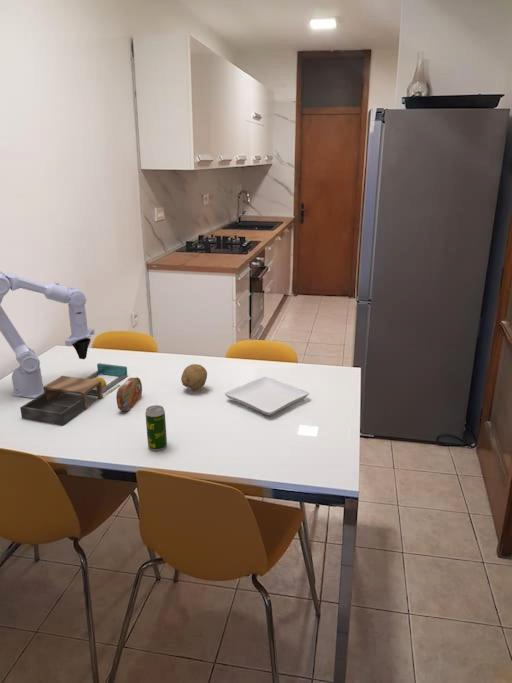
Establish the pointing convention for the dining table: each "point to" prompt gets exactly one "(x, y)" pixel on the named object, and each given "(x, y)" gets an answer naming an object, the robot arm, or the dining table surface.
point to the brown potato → (194, 377)
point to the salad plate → (266, 395)
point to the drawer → (109, 370)
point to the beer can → (156, 428)
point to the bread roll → (101, 381)
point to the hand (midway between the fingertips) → (82, 358)
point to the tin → (129, 394)
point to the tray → (55, 413)
